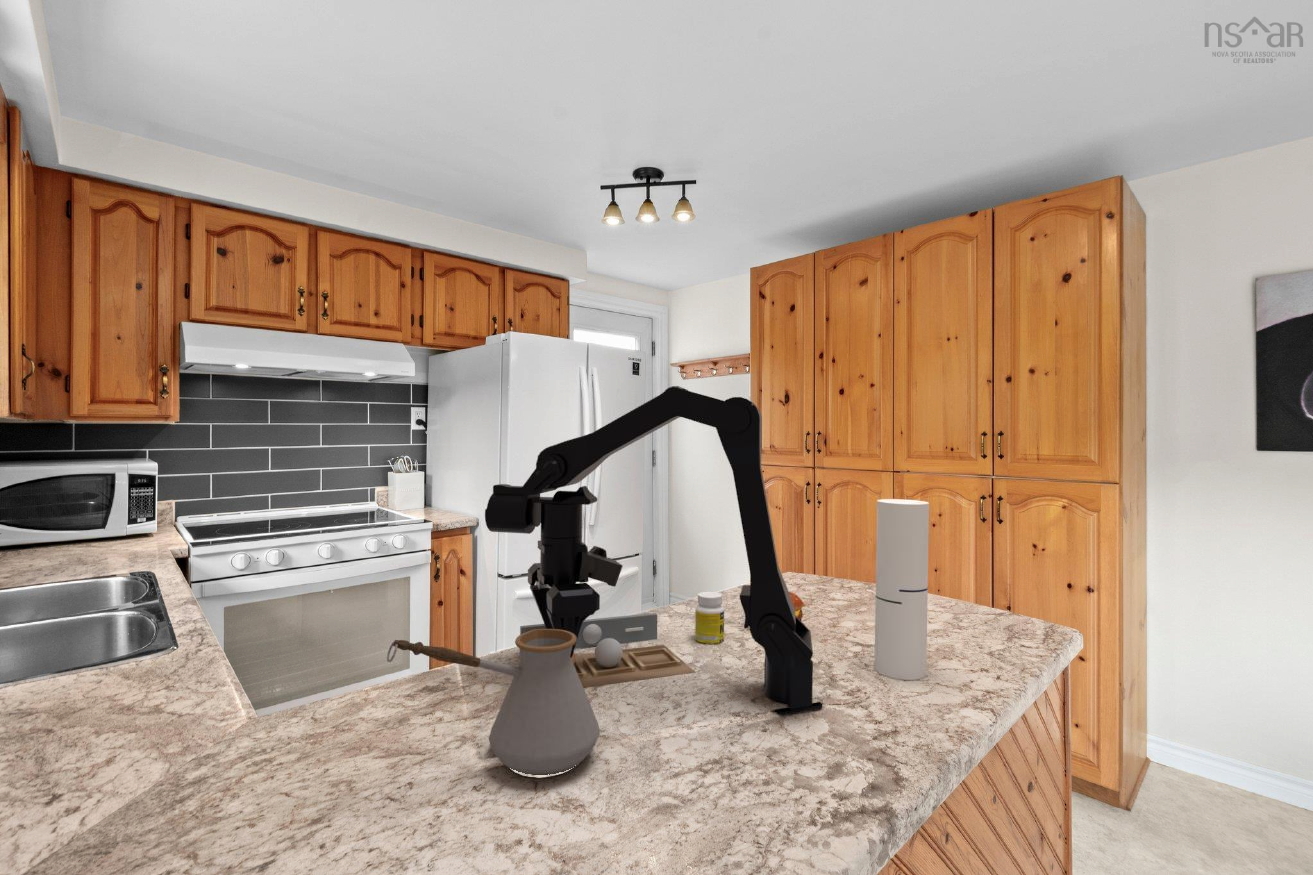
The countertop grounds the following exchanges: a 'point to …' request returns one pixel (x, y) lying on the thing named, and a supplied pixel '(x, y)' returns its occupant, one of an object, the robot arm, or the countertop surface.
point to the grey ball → (608, 652)
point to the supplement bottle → (709, 619)
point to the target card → (612, 629)
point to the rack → (631, 666)
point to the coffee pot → (534, 703)
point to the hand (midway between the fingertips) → (560, 646)
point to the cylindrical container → (901, 588)
